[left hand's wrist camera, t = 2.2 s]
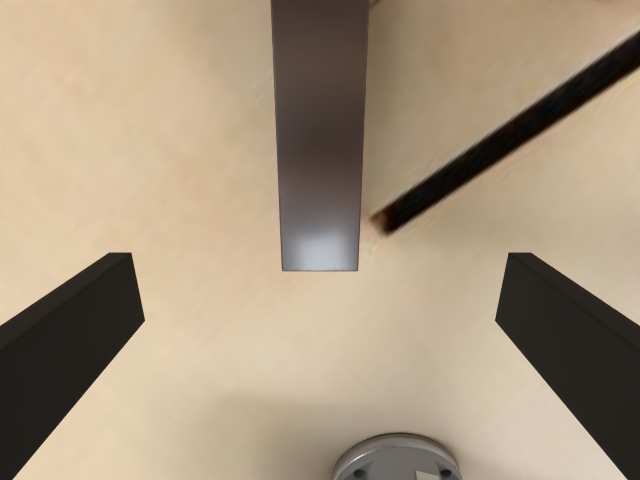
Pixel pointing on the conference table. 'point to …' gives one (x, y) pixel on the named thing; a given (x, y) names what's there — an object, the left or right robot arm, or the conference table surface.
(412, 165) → the conference table surface
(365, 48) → the walnut beam
